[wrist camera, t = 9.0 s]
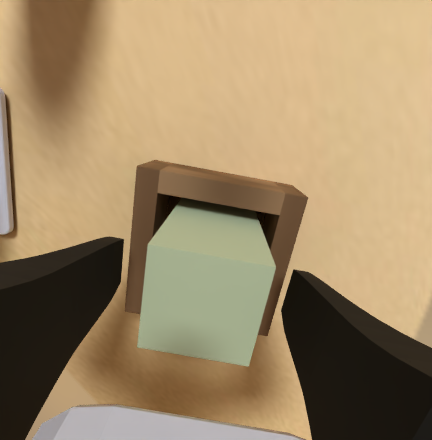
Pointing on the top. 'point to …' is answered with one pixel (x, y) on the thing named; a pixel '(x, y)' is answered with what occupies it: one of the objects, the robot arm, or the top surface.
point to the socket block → (220, 194)
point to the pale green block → (206, 283)
